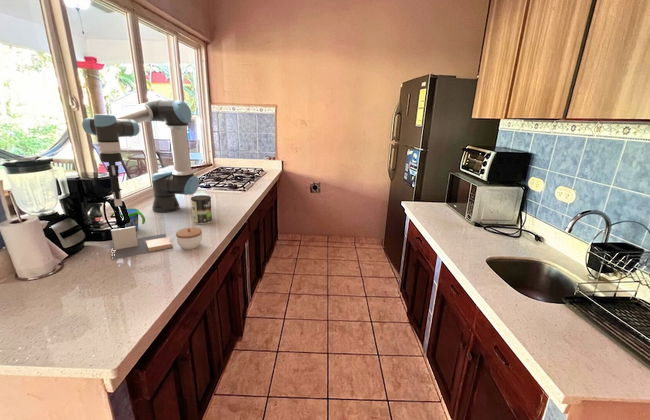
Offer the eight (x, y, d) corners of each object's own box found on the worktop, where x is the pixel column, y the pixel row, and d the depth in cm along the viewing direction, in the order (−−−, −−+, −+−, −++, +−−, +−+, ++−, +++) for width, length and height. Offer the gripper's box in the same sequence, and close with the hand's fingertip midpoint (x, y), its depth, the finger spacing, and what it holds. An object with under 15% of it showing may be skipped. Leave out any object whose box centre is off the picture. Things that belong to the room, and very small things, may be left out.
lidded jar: (178, 254, 132) (175, 234, 129) (176, 244, 141) (174, 225, 138) (204, 250, 137) (202, 230, 134) (201, 241, 146) (200, 223, 143)
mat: (109, 243, 138) (109, 243, 138) (165, 234, 152) (165, 233, 151) (111, 261, 123) (111, 260, 123) (173, 249, 136) (173, 248, 136)
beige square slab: (145, 240, 138) (148, 247, 131) (167, 237, 143) (171, 243, 136) (146, 244, 138) (148, 252, 131) (167, 240, 143) (171, 247, 136)
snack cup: (107, 233, 150) (103, 213, 147) (120, 226, 160) (117, 207, 157) (138, 234, 150) (135, 215, 147) (150, 227, 160) (148, 208, 157)
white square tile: (114, 248, 133) (110, 229, 130) (137, 244, 138) (135, 226, 135) (114, 250, 131) (110, 231, 129) (138, 246, 137) (135, 227, 134)
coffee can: (216, 219, 176) (214, 196, 172) (205, 225, 166) (204, 200, 162) (200, 217, 178) (198, 194, 174) (189, 223, 168) (186, 198, 164)
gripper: (99, 150, 132) (107, 203, 138) (99, 154, 122) (109, 210, 128) (119, 150, 136) (127, 201, 143) (121, 153, 126) (129, 208, 133)
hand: (118, 205), depth 136 cm, fingers closed
